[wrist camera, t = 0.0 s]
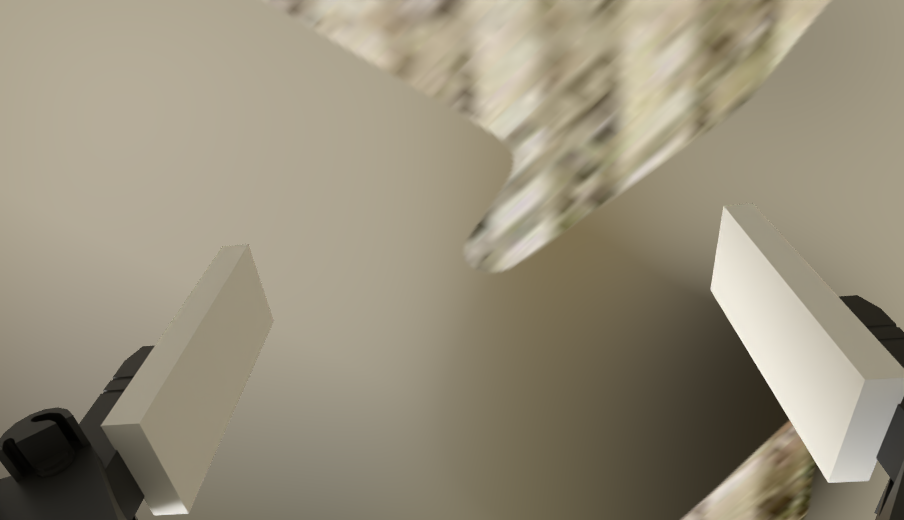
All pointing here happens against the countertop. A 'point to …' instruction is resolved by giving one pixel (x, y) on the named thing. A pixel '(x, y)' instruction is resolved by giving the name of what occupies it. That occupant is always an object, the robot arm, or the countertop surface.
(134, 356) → the robot arm
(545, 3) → the countertop surface
